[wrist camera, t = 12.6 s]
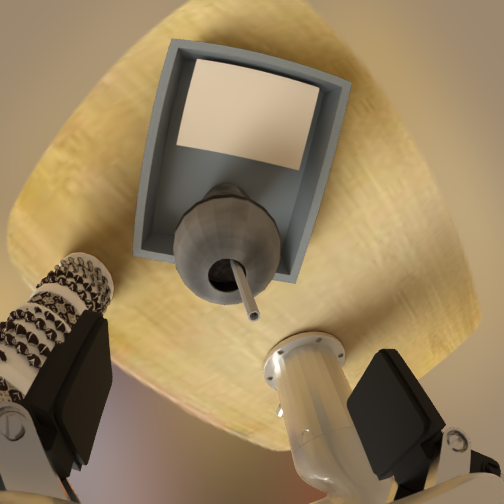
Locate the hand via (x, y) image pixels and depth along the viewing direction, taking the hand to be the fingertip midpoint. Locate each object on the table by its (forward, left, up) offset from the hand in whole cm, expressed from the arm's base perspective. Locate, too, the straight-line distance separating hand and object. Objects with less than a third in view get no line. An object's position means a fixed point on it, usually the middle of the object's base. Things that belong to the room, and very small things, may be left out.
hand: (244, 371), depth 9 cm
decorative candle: (-13, +16, -24) cm, 32 cm away
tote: (+5, 0, -24) cm, 24 cm away
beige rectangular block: (+9, 0, -23) cm, 25 cm away
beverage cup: (0, 0, -23) cm, 23 cm away
